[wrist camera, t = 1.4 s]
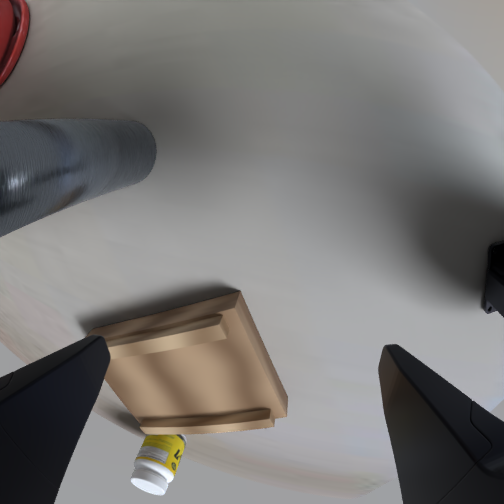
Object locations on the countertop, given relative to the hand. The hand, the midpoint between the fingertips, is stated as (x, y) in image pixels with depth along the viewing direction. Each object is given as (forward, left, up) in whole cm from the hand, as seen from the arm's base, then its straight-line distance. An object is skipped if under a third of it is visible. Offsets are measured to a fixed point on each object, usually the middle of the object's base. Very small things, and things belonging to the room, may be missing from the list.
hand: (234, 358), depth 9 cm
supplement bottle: (+17, +22, -13) cm, 31 cm away
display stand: (+10, +11, -13) cm, 20 cm away
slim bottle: (+8, -8, -13) cm, 18 cm away
